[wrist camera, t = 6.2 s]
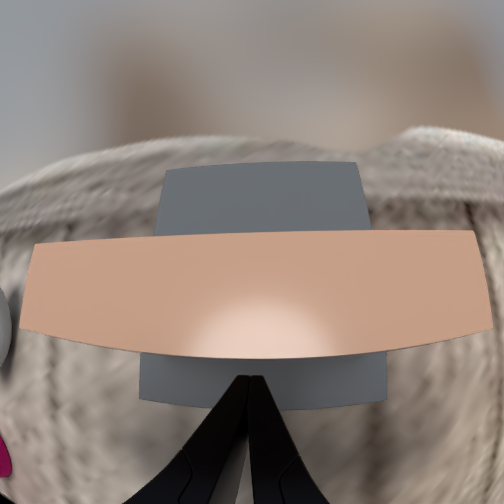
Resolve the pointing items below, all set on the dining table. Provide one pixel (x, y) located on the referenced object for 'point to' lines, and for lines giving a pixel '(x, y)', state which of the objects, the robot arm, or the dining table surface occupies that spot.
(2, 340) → the donut
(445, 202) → the dining table surface
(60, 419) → the dining table surface
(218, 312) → the terracotta tile
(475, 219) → the dining table surface
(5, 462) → the pepper mill
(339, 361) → the rubber mat
